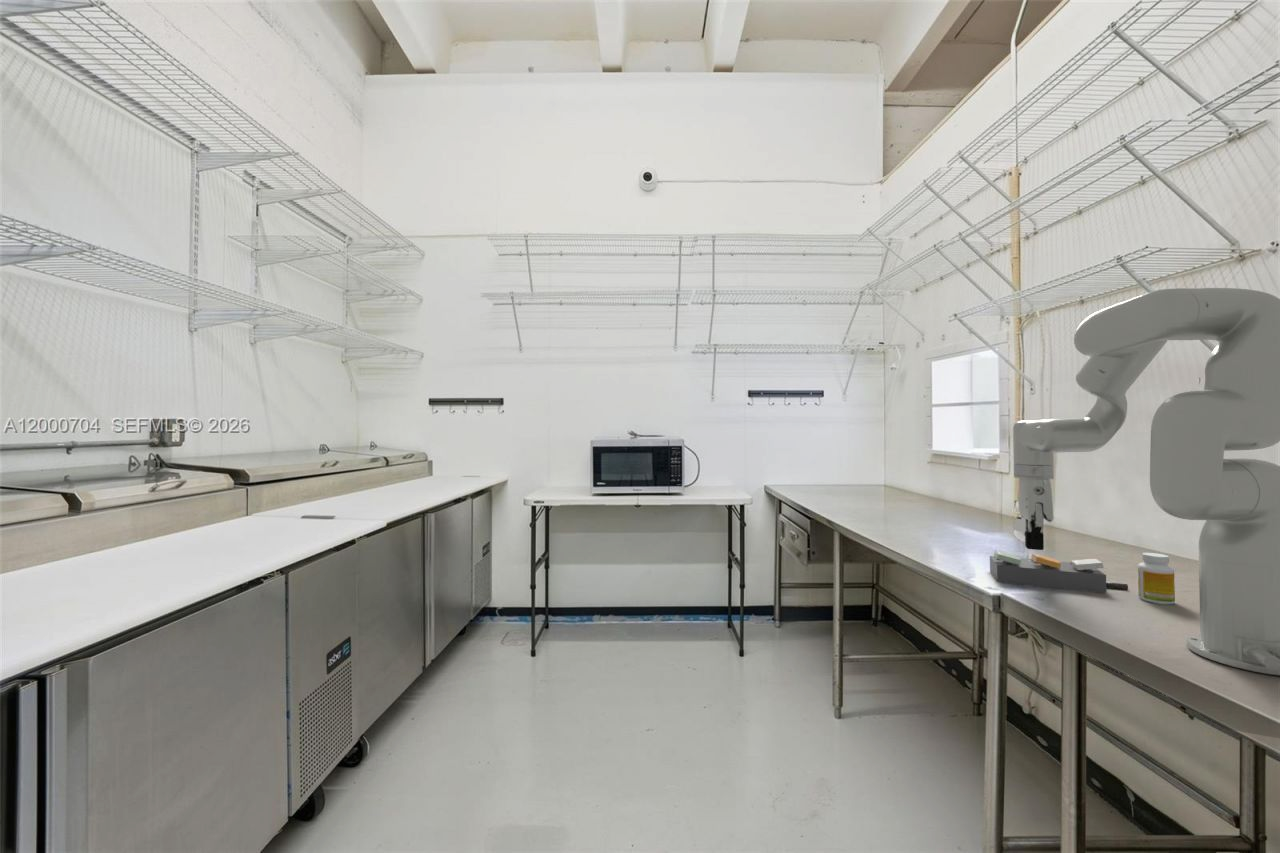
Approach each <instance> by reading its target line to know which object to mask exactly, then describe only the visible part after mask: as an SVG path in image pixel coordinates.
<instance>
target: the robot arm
mask: <svg viewBox="0 0 1280 853" xmlns="http://www.w3.org/2000/svg"><path fill="white" fill-rule="evenodd" d="M1168 341H1217V342H1218V343H1217V345H1216V346H1215V348H1213V349H1212V351H1211V353H1210V355H1209V357H1208V359H1207V361H1206V364H1205V368H1204V378H1205V379H1204V386H1203V387H1204V388H1203V390H1189V391H1185V392H1180V393H1178V394H1175V395H1172V396H1170V397H1168V398H1167V399H1166V400H1165V401H1163V402H1162V403H1161V404H1160V405H1159V407H1158V408H1157V409H1156V411H1155V413H1154V415H1153V418H1152V420H1151V425H1150V444H1149V445H1150V453H1149V454H1150V455H1149V456H1150V457H1149V459H1150V460H1149V486H1150V492H1151V495H1152V498H1153V500H1154V502H1155V504H1157V506H1158V507H1159V508H1160V509H1161V510H1162V511H1164V512H1165V513H1166V514H1168V515H1170V516H1171V517H1174V518H1177V519H1181V520H1188V521H1205V522H1204V524H1203V526H1202V528H1201V531H1200V533H1199V534H1200V535H1199V539H1198V583H1199V584H1198V586H1199V588H1198V589H1199V624H1200V625H1199V626H1200V627H1199V629H1200V631H1199V632H1200V633H1199V634H1198V635H1193V636H1188V637H1187V638H1186V647H1187V648H1188V649H1189V650H1191V652H1193V653H1194V654H1195V653H1196V654H1197V655H1198V656H1201V657H1203V658H1206V659H1209V660H1211V661H1214V662H1217V663H1220V664H1223V665H1227V666H1230V667H1233V668H1236V669H1237V668H1238V669H1242V670H1245V671H1249V672H1250V671H1251V672H1255V673H1261V674H1266V675H1273V676H1279V677H1280V465H1278V464H1276V463H1273V462H1270V461H1266V460H1262V459H1261V460H1260V459H1256V458H1254V459H1253V458H1225V456H1224V455H1225V452H1226V451H1227V452H1228V451H1229V452H1230V451H1251V450H1252V451H1254V450H1261V449H1267V448H1269V447H1272V446H1274V445H1277V444H1278V443H1279V442H1280V298H1279V297H1277V296H1275V295H1273V294H1270V293H1268V292H1265V291H1260V290H1255V289H1254V290H1253V289H1246V288H1238V287H1237V288H1233V287H1231V288H1230V287H1203V288H1201V287H1200V288H1197V287H1196V288H1192V287H1191V288H1188V287H1187V288H1183V287H1182V288H1180V287H1179V288H1165V289H1159V290H1158V289H1156V290H1153V291H1149V292H1147V293H1143V294H1141V295H1140V294H1139V295H1138V296H1135V297H1133V298H1130V299H1127V300H1125V301H1122V302H1118V303H1116V304H1114V305H1111V306H1108V307H1105V308H1103V309H1101V310H1098V311H1096V312H1093V313H1092V314H1090V315H1089V316H1087V317H1086V318H1085V319H1084V320H1083V321H1082V322H1081V323H1080V324H1079V325H1078V326H1077V328H1076V329H1075V333H1074V336H1073V344H1074V347H1075V349H1076V350H1077V351H1078V352H1079V353H1080V354H1082V355H1085V356H1087V357H1088V358H1087V360H1086V361H1085V362H1084V364H1083V365H1082V367H1081V368H1080V369H1078V370H1079V371H1078V372H1077V374H1076V376H1075V381H1076V383H1077V385H1078V386H1079V387H1080V388H1081V389H1082V390H1084V391H1086V392H1087V393H1089V394H1090V395H1092V396H1094V397H1097V398H1096V401H1095V403H1094V405H1093V406H1092V408H1091V409H1090V410H1089V412H1087V414H1086V415H1084V417H1083V418H1048V419H1036V420H1033V419H1032V420H1029V419H1028V420H1027V419H1026V420H1019V421H1016V422H1015V423H1014V424H1013V428H1012V431H1013V432H1012V434H1013V435H1012V438H1013V440H1012V445H1013V447H1012V448H1013V454H1012V455H1013V478H1016V479H1018V511H1019V515H1020V516H1021V517H1024V518H1025V529H1026V531H1025V544H1024V547H1025V546H1026V548H1028V549H1029V550H1038V551H1043V550H1044V549H1045V548H1044V545H1045V544H1044V543H1045V542H1044V520H1045V521H1047V522H1049V523H1052V522H1053V521H1054V507H1053V506H1054V503H1053V490H1052V484H1051V480H1054V478H1055V477H1054V476H1055V475H1054V474H1055V473H1054V471H1055V468H1054V453H1089V452H1094V451H1097V450H1099V449H1101V448H1102V447H1103V446H1105V445H1107V444H1108V443H1109V442H1110V440H1111V439H1113V437H1114V436H1115V435H1116V434H1117V432H1119V430H1120V429H1122V427H1123V425H1124V424H1125V422H1126V418H1127V414H1128V400H1127V396H1126V393H1127V392H1128V390H1129V389H1130V388H1131V386H1132V385H1133V384H1134V383H1135V382H1136V380H1137V379H1138V378H1139V377H1140V375H1141V374H1142V373H1143V372H1144V370H1146V368H1147V367H1148V366H1149V364H1150V363H1151V362H1152V361H1153V360H1154V359H1155V357H1156V356H1157V355H1158V353H1160V351H1161V350H1162V349H1163V348H1164V346H1165V345H1166V343H1168ZM1026 548H1025V549H1026Z"/></svg>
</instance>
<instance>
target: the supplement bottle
mask: <svg viewBox="0 0 1280 853" xmlns="http://www.w3.org/2000/svg"><path fill="white" fill-rule="evenodd" d="M1141 559H1142V561H1143V562H1139V564H1138V565H1137V566H1138V567H1137V579H1138V580H1137V584H1138V586H1137V587H1138V590H1137V591H1138V598H1139V599H1141V600H1142V601H1146V602H1149V603H1154V604H1159V605H1174V604H1175V603H1176V597H1175V596H1176V593H1175V592H1176V591H1175V569H1174V568H1173V567H1172V566H1170V565H1168V564H1170V556H1169V555H1166V554H1162V553H1155V552H1143V553H1142V555H1141Z"/></svg>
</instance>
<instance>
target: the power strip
mask: <svg viewBox="0 0 1280 853" xmlns="http://www.w3.org/2000/svg"><path fill="white" fill-rule="evenodd" d="M1018 558H1019V559H1020V560H1021V562H1020V565H1018V564H1014V563H1010V562H1007V561H1003V560H999V559H996V557H995V556H994V555H989V572H990V573H991V575H992V576H993V578H994V579H995V580H996V583H1003V584H1004V583H1005V584H1013V585H1015V584H1016V585H1025V586H1034V587H1041V588H1042V587H1044V588H1045V587H1046V588H1054V589H1063V590H1074V591H1084V592H1093V593H1102V594H1107V589H1115V590H1116V589H1118V590H1126V591H1127V590H1129V586H1128V584H1127V583H1120V582H1109V581H1107V574H1105V573H1104V572H1102V571H1101V570H1099V568H1097V569H1085V570H1077V569H1076V568H1075V567H1073V566H1072V563H1071V561H1070V562H1067V561H1059V562H1060V563H1061V566H1060V568H1056V567H1052V566H1048V565H1044V564H1040V563H1037V562H1035V561H1034V560H1033V559H1031V558H1029V559H1026V558H1020V557H1018Z"/></svg>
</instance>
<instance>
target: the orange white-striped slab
mask: <svg viewBox="0 0 1280 853" xmlns="http://www.w3.org/2000/svg"><path fill="white" fill-rule="evenodd" d="M1030 559H1033V560H1034V561H1035V562H1037V563H1040V564H1044V565H1048V566H1052V567H1056V568H1060V566H1061V563H1060V562H1061V561H1059V560H1057V559H1056V558H1052V557H1048V556H1045V555H1040V554H1035V553H1032V554H1031V558H1030Z"/></svg>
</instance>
